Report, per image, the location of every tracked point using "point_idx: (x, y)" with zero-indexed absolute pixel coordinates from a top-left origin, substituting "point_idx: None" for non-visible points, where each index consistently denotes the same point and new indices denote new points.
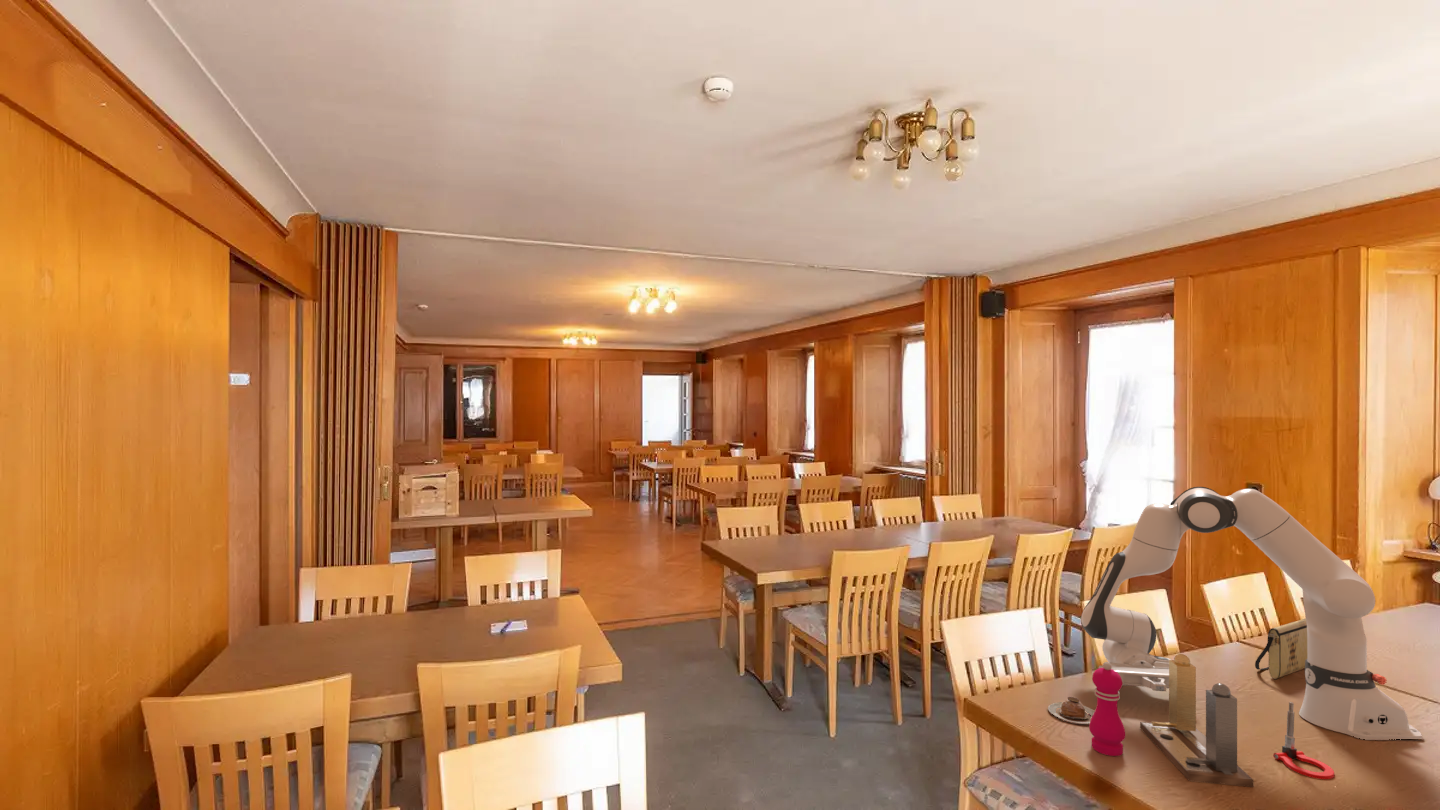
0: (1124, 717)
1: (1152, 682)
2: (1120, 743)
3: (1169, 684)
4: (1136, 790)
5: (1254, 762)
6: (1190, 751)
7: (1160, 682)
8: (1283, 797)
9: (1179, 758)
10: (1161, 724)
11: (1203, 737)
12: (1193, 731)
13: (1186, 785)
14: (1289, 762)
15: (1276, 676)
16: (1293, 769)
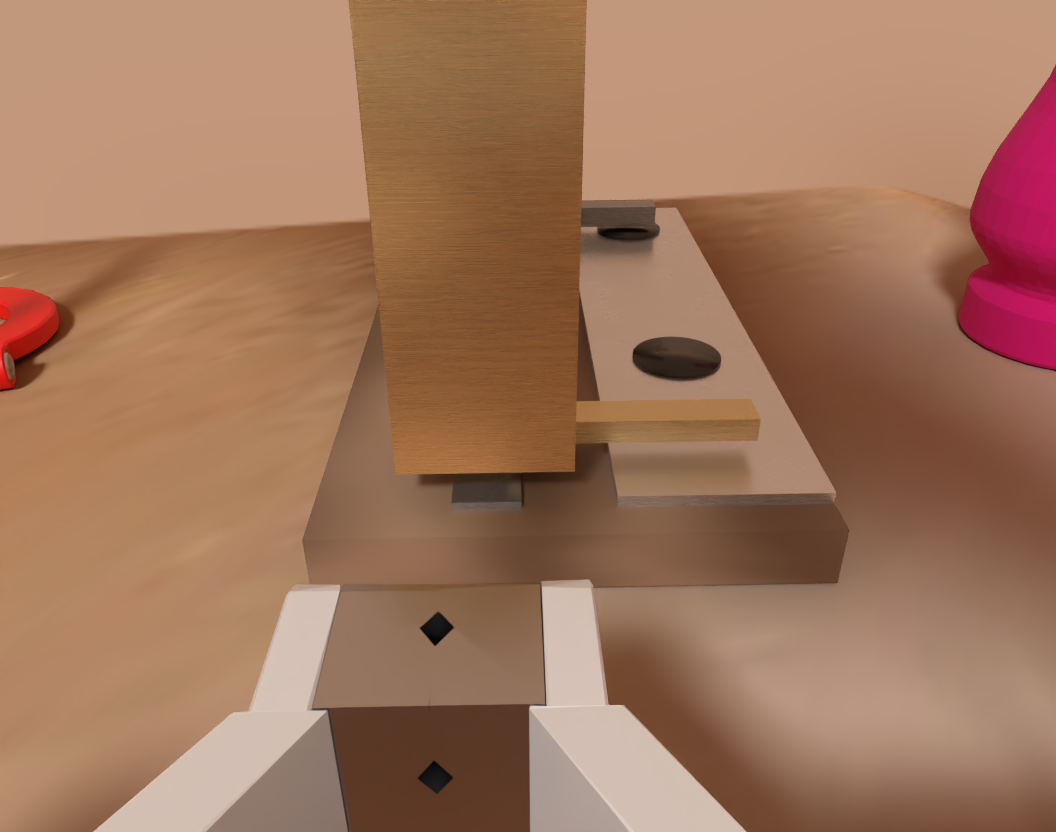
0: (1024, 802)
1: (590, 635)
2: (986, 278)
3: (584, 25)
4: (886, 199)
5: (207, 351)
6: (587, 280)
7: (343, 686)
8: (341, 224)
9: (678, 243)
10: (677, 405)
11: (371, 409)
12: (389, 464)
13: (691, 226)
14: (20, 323)
15: None
16: (57, 317)
